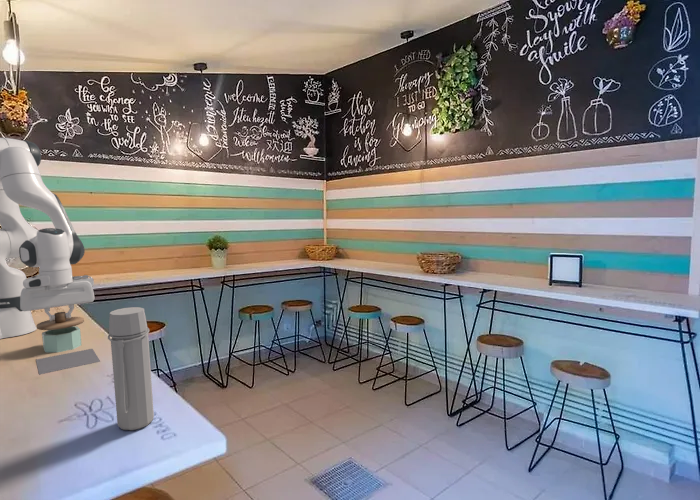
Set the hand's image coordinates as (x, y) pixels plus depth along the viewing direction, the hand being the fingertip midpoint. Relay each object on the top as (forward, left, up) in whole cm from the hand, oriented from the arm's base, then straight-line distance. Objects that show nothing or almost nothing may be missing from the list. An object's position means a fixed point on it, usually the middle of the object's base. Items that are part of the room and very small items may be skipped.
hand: (60, 319), depth 142 cm
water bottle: (+52, -48, -10) cm, 71 cm away
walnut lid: (0, 0, -2) cm, 2 cm away
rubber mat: (+10, -12, -10) cm, 19 cm away
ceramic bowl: (0, 0, -10) cm, 10 cm away
